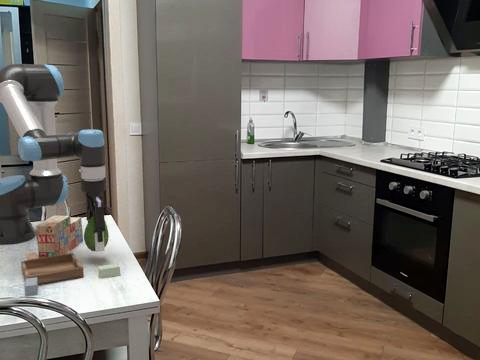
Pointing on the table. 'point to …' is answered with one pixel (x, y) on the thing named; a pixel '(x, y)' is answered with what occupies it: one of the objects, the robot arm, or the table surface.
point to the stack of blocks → (58, 235)
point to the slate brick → (31, 286)
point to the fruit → (93, 235)
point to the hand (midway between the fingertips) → (96, 246)
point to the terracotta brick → (32, 256)
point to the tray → (53, 269)
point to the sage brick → (109, 271)
